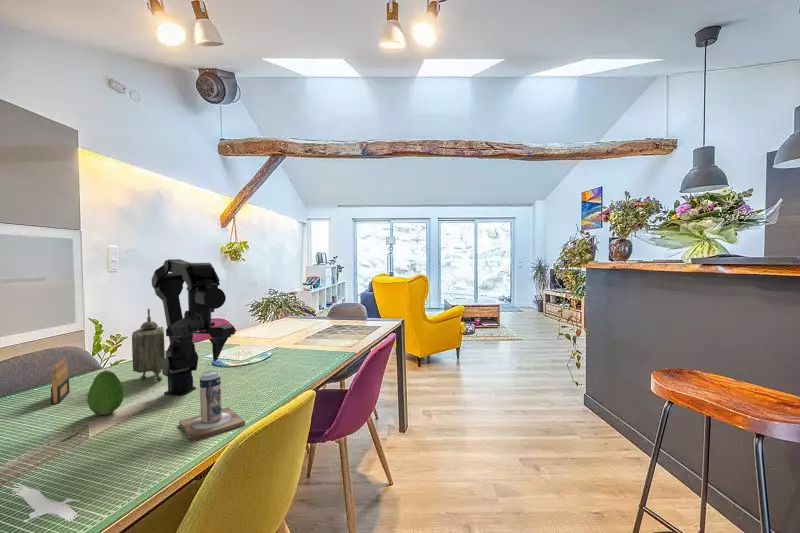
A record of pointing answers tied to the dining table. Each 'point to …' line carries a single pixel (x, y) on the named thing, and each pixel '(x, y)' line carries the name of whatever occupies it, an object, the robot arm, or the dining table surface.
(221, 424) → the plate
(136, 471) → the dining table surface
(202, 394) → the beer can
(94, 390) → the avocado
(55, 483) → the dining table surface
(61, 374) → the ammunition clip
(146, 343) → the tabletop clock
